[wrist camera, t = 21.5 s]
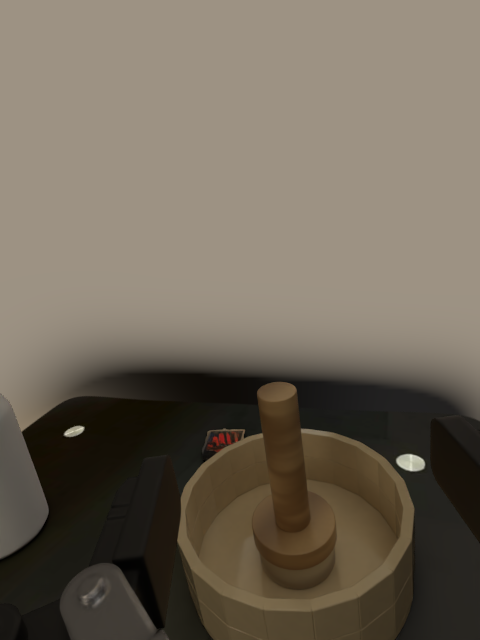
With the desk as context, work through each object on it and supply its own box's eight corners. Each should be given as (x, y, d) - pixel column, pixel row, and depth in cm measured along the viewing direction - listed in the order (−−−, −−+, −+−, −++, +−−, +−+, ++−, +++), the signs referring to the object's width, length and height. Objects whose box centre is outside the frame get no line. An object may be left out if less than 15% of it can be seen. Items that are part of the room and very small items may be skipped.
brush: (353, 546, 26) (342, 381, 22) (308, 611, 22) (286, 428, 19) (288, 511, 29) (269, 363, 26) (241, 562, 26) (211, 400, 22)
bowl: (448, 536, 26) (450, 473, 25) (335, 763, 17) (326, 685, 15) (279, 458, 36) (272, 410, 34) (147, 576, 27) (130, 517, 25)
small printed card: (202, 465, 36) (202, 461, 36) (202, 433, 41) (201, 429, 41) (253, 456, 37) (252, 452, 36) (246, 425, 42) (246, 422, 41)
